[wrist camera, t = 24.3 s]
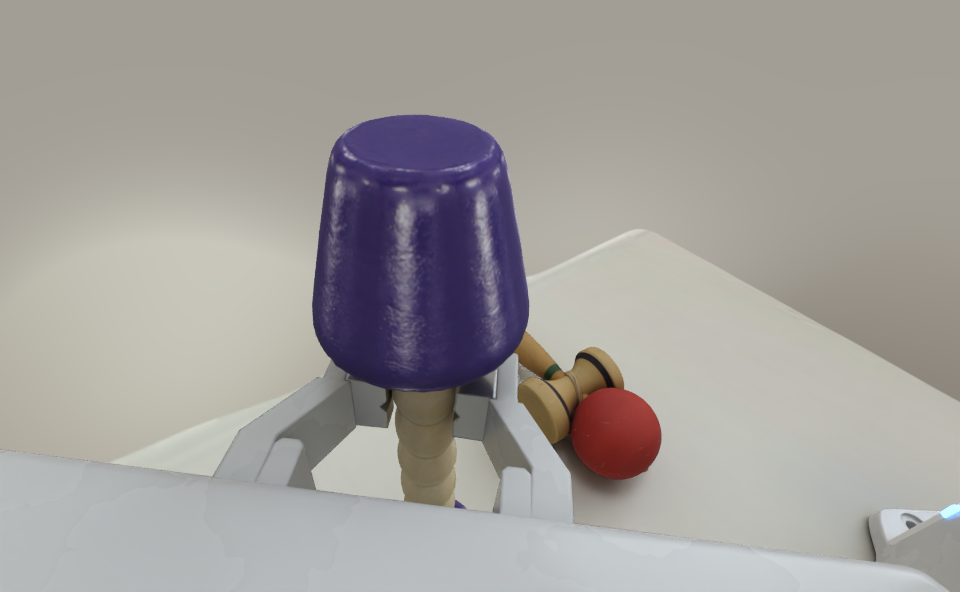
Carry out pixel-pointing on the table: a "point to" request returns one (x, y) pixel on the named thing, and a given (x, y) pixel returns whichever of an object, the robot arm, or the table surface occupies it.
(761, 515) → the table surface
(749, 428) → the table surface
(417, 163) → the toy lamp
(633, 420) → the kendama
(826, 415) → the table surface
